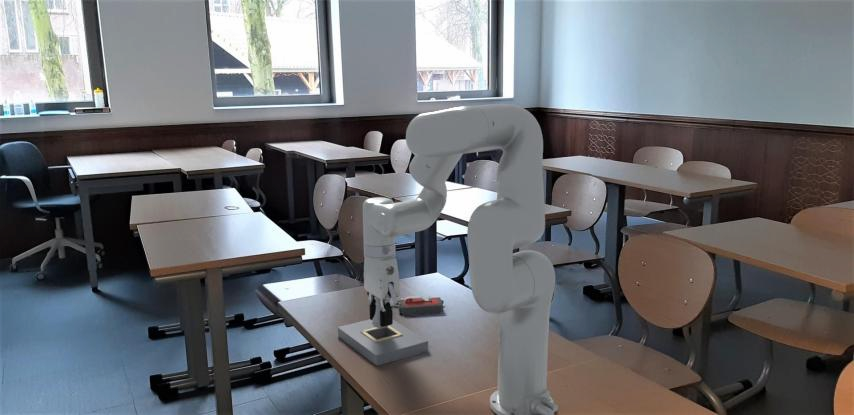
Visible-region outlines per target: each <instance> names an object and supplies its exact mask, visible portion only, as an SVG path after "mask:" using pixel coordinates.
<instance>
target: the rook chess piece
mask: <svg viewBox="0 0 854 415" xmlns="http://www.w3.org/2000/svg"><path fill="white" fill-rule="evenodd" d="M386 297H388V296H387V295H386ZM374 299H375V300H376V303H375V304H376V312H375V315H374V317H373V320H372V321H373V322H372V324H373V326H374V327H376V328H385V327H388V326H389V325H388V326H384V327H381V326H380V311H381V303H380V298H378V297H376V296H375V297H374ZM386 302H387V300H386V301H385V304H386Z"/></svg>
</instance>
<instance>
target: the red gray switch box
mask: <svg viewBox="0 0 854 415" xmlns="http://www.w3.org/2000/svg"><path fill="white" fill-rule="evenodd" d="M387 302H388V301H386V303H387ZM444 303H445V302H444V300H442V299H441V297H437V296H436V297H431V295H428V296H427V297H423V296H422V295H420V294H419V295H406V296H405V297H403V298H402V297H401V298H400V300H398V303H397V304H396V305H395V306H398V314H401V315H402V316H405V317H406V316H417V315H419V316H420V315H433V314H434V315H437V314H442V313H444V312H443V311H444V310H443V308H444Z"/></svg>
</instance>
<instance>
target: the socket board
mask: <svg viewBox="0 0 854 415" xmlns="http://www.w3.org/2000/svg"><path fill="white" fill-rule="evenodd" d="M372 322H373V321H372V320H371V319H370V318H369V319H365V320H361V321H357V322H353V323H349V324H345V325H341V326H337V337H338V338H339V339H341V340H343V342H345V343H346V344H347V345H348V346H350V347H351V348H353V349H354V350H355V351H356V352H357V353H359V354H361V356H363V357H365V358H366V359H367V360H369V361H370V362H371V363H373V364H374V365H375V366H380V365H384V364H388V363H391V362H395V361H397V360H398V361H399V360H401V359H405V358H408V357H411V356H415V355H419V354H422V353H426V352H428V351H429V341H428V340H427V339H426V338H424V337H422V336H420V335H419V334H417V333H416V332H414V331H413V330H411V329H410V328H407V327H406V326H404V325H403V324H402V323H399V322H397V321H396V320H394V319H393V324H392V325H389V326H388V327H385V328H376V327H374V326H373V324H372Z"/></svg>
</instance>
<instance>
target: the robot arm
mask: <svg viewBox="0 0 854 415" xmlns="http://www.w3.org/2000/svg"><path fill="white" fill-rule="evenodd" d="M405 142H406V146H407V148H408V150H409V151H410V152H411V153H412V154H413V155H414V156H413V158H412V160H411V162H409V168H408V170H409V174H410V175H411V177H412V179H413V180H414V181H415V182H416V183H417V184H418V185H419V186H421V187H422V189H421V190H420V193H419V194H418V196H417V197H416V198H414V199H408V200H402V201H399V202H394V200H392V199H391V198H388V197H380V196H379V197H370V198H367V199H365V200H364V202H363V203H362V231H363V232H362V233H363V235H362V236H363V257H364V262H363V285H364V286H363V287H364V290H366V295H367V297H368V298H367V299H368V304H369V319H371V320H373V317H374V315H375V312H376V304H375V303H376V300H375V299H374V297H375V296H376V297H378V298H380V303H381V311H380V326H381V327H384V326H388V325H392V324H393V320H394V318H393V315H394V314H393V310H394V308H395V306H397V305H396V304H397V303H398V301H399V300H398V298H397V297H399V296H400V292H401V291H400V290H401V287H400V275H399V266H398V261H397V257H396V238H398V237H402V236H406V235H408V234H412V233H417V232H421V231H425V230H427V229H430V227H431V226H433V224H434V223H435V222H436V221H437V220H438V218H439V216H440V215H441V213H442V211H443V210H444V208H445V206H446V203H447V197H448V193H447V192H448V191H447V190H448V189H447V184H446V182H447V180H448V179H449V177H450V175H452V172H453V171H454V169H455V167H456V165H457V164H458V162H459V161H460V159H461V158H462V156H463V155H465V154H471V153H472V154H473V153H479V152H486V151H487V152H488V151H493V150H498V149H499V150H501V151H502V154H501V157H500V159H499V162H498V165H497V171H496V185H497V186H496V187H497V190H496V191H497V194H496V199H495V200H491V201H487V202H484V203H482V204H479V206H477V207H476V208H475V209H474V210H473V211H472V213H471V215H470V217H469V220H468V224H467V229H466V230H467V232H466V233H467V234H466V235H467V250H468V264H469V281H470V287H471V293H472V296H473V298H474V300H475V302H476V304H477V305H478V306H479V308H480V309H481V310H483V311H484V312H486V313H488V314H491V315H492V314H493V315H499V320H498V345H497V346H498V348H497V351H498V353H497V354H498V355H497V390H495V391H493V393H492V394H490V397H489V407H490V409H491V410H492V412H494V413H495V414H496V415H555V412H557V411H558V410H559V405H557V404H556V403H555V401H554V400H553V398H552V397H551V392H550V391H551V390H549V389H547V382H548V381H547V380H548V351H549V349H548V348H549V334H550V332H549V328H550V313H551V306H552V305H551V304H552V301H553V297H554V292H555V286H556V272H555V268H554V265H553V262H552V261H551V260H550V259H549V258H548V256H547V255H545V254H544V253H542V252H539V251H538V250H531V249H530V250H522V251H518V252H517V251H516V252H514V250H516V249H520V248H522V247H526V246H528V245H531V244H533V243H536V242H537V241H538V240H539V239H541V238H542V236H543V235H544V232H545V229H546V215H545V214H546V212H545V211H546V210H545V190H544V179H543V178H544V176H543V157H544V156H543V153H544V138H543V134H542V129H541V126H540V124H539V122H538V120H537V119H536V117H535V116H534V114H532V113H531V112H530V111H528V110H527V109H526V108H524V107H522V106H519V105H516V104H510V103H490V104H482V105H481V104H477V105H466V106H465V105H464V106H458V107H452V108H447V109H442V110H441V109H440V110H437V111H432V112H431V111H430V112H425V113H424V112H423V113H420V114H418V115H416V116H415V117H414V118H413V119H412V120H411V121H410V122H409V124H408V126H407V128H406V132H405ZM513 252H514V253H513ZM387 295H388V296H387ZM386 296H387V297H386ZM385 301H386V302H387V303H386V304H385Z"/></svg>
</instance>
